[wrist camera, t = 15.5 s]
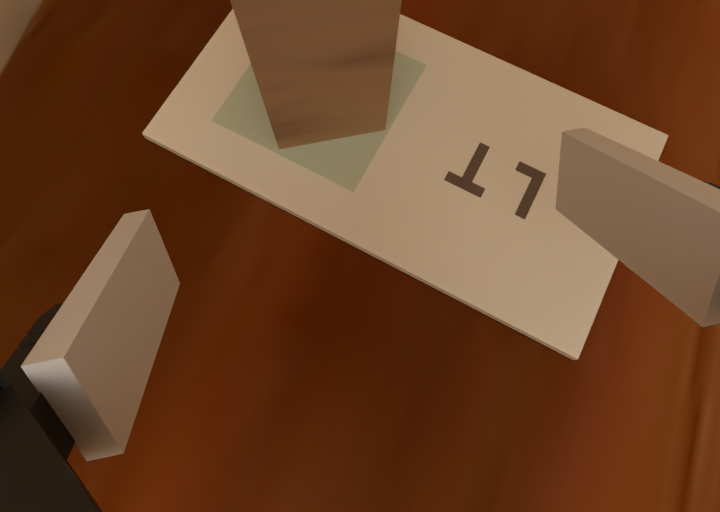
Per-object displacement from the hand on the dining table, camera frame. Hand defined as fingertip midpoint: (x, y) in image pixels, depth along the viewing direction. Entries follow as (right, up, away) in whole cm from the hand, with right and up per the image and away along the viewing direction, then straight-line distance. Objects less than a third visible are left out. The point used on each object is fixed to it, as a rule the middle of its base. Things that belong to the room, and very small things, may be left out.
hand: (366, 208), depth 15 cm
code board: (+2, +5, +12) cm, 13 cm away
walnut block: (-2, +8, +12) cm, 14 cm away
